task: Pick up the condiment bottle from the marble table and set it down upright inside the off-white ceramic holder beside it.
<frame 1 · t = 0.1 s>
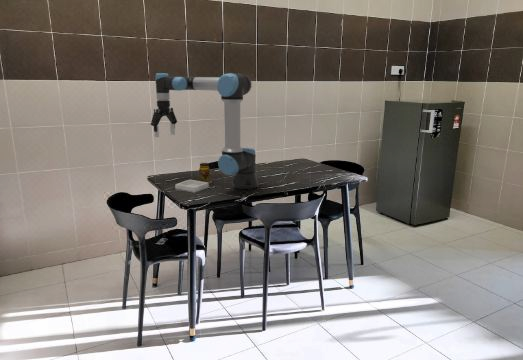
hand: (165, 135, 239), 28 cm above the table, fingers open, 13 cm apart
holder: (192, 188, 229), on the table
condiment: (203, 182, 243), on the table
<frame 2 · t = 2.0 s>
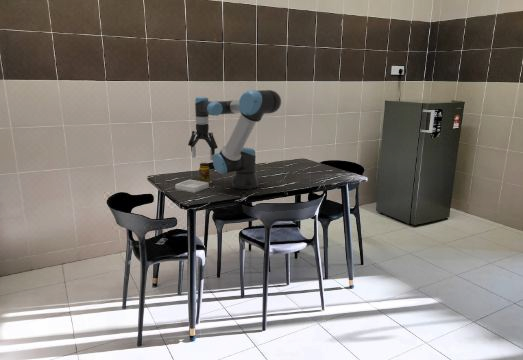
hand: (202, 158, 240), 15 cm above the table, fingers open, 13 cm apart
nothing on the table moved.
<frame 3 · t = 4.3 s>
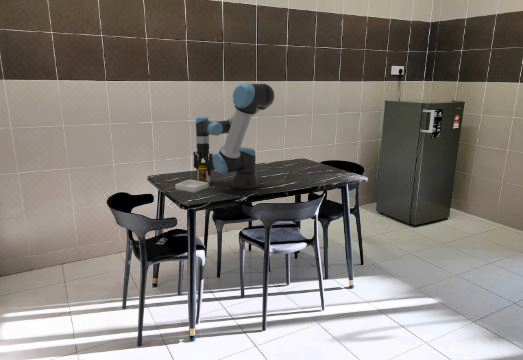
hand: (203, 179, 243), 1 cm above the table, fingers closed on condiment, 6 cm apart
condiment: (202, 182, 244), on the table, touching gripper
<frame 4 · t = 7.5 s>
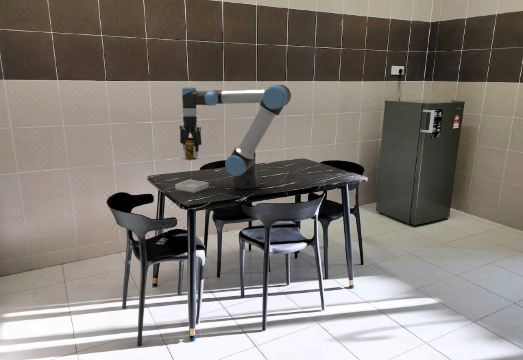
hand: (191, 156, 224), 19 cm above the table, fingers closed on condiment, 6 cm apart
condiment: (190, 159, 225), point 17 cm above the table, touching gripper
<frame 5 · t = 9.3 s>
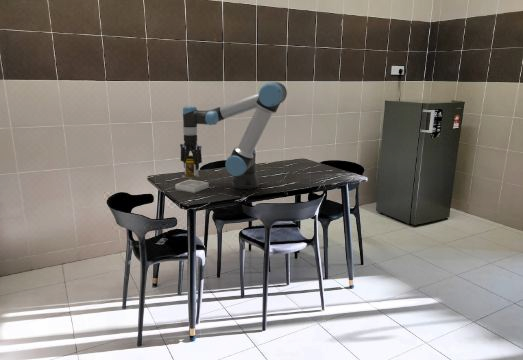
hand: (191, 174, 227), 8 cm above the table, fingers closed on condiment, 6 cm apart
condiment: (190, 176, 228), point 7 cm above the table, touching gripper
when the fingers open (4 cm above the table, at t = 10.9 s): condiment drops 2 cm, resting on holder.
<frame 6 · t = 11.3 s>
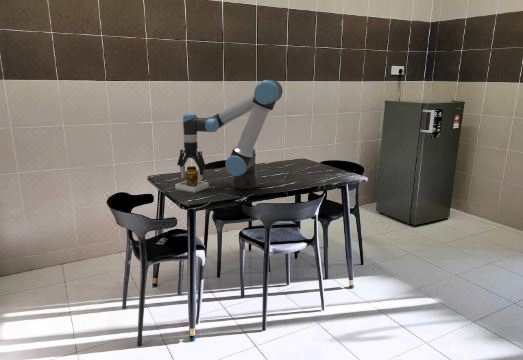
hand: (191, 178, 228), 6 cm above the table, fingers open, 11 cm apart
condiment: (191, 187, 229), point 1 cm above the table, touching holder
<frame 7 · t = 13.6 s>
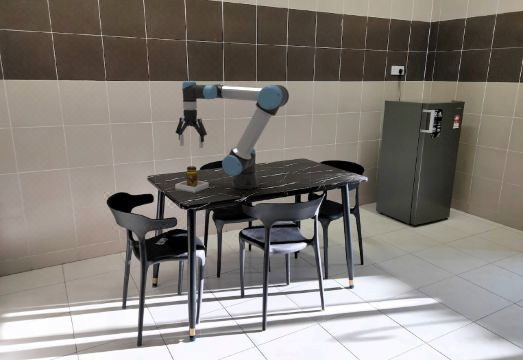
hand: (191, 146, 226), 24 cm above the table, fingers open, 13 cm apart
nothing on the table moved.
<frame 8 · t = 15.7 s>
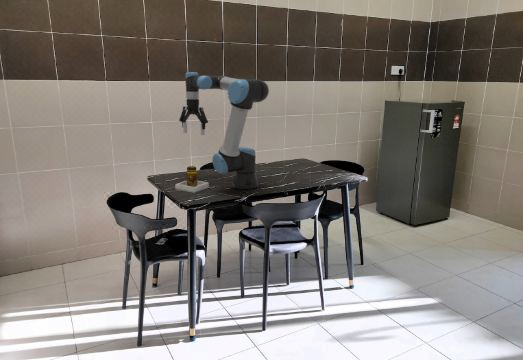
hand: (193, 134, 243), 29 cm above the table, fingers open, 13 cm apart
nothing on the table moved.
at the end: condiment 0.7 cm off-centre on the holder, point 0.6 cm above the holder's base; condiment tilted 0°; the gripper is holding nothing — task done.
